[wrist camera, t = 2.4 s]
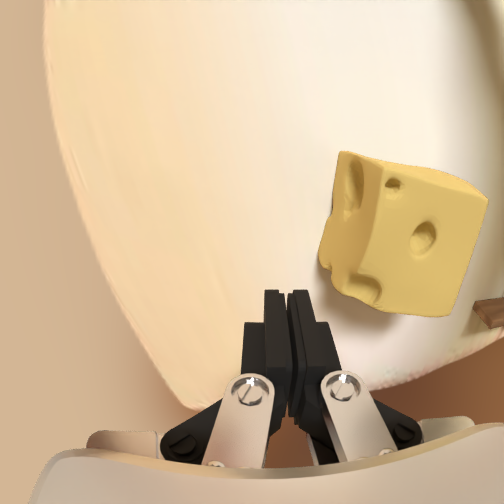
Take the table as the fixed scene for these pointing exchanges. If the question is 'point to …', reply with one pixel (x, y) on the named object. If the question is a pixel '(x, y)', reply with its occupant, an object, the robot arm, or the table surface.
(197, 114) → the table surface
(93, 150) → the table surface
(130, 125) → the table surface
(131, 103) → the table surface
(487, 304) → the wooden u-shaped bracket
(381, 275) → the cheese
